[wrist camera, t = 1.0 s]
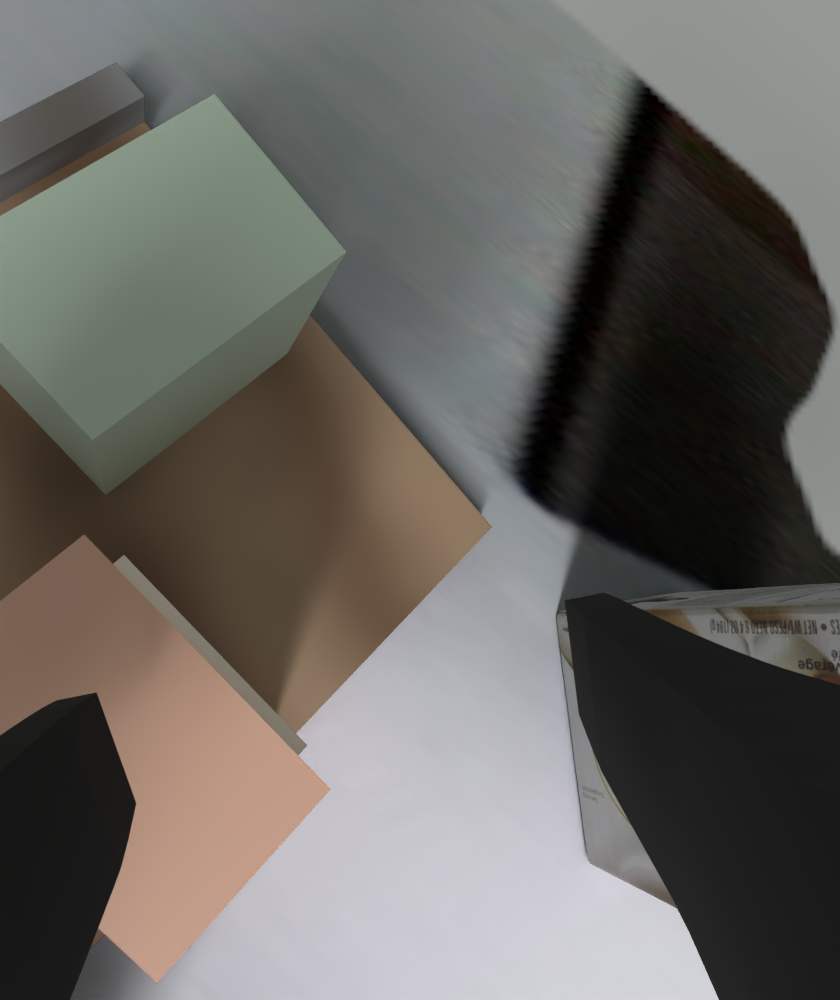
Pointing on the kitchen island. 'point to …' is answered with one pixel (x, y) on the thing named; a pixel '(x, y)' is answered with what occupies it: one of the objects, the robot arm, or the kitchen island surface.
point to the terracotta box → (158, 743)
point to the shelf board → (238, 478)
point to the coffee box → (728, 622)
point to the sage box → (155, 289)
